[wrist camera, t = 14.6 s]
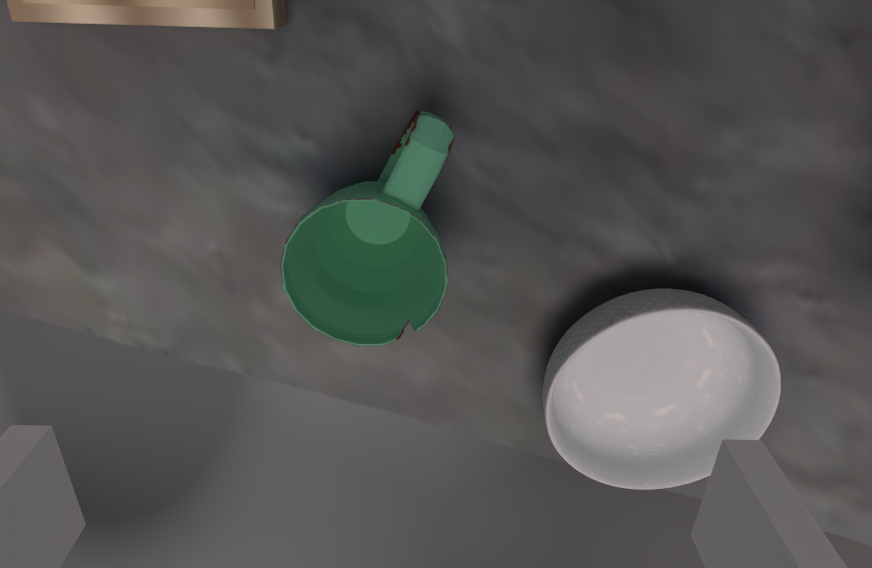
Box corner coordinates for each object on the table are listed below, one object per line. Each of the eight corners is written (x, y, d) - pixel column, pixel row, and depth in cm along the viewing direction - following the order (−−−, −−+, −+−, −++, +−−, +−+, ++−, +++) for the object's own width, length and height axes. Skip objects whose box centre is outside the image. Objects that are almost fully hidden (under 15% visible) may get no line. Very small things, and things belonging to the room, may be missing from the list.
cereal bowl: (744, 245, 46) (793, 290, 40) (735, 414, 54) (775, 474, 47) (520, 283, 47) (533, 332, 41) (543, 442, 55) (557, 504, 49)
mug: (410, 292, 48) (405, 368, 39) (291, 242, 46) (257, 310, 37) (501, 122, 41) (520, 167, 33) (368, 55, 39) (350, 84, 31)
